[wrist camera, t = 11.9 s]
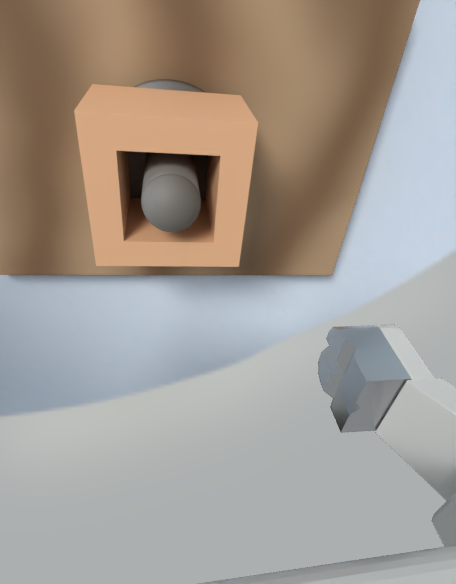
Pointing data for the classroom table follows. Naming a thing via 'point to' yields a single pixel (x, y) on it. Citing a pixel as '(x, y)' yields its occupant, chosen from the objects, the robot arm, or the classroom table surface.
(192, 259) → the square frame block
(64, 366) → the classroom table surface
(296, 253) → the stand
